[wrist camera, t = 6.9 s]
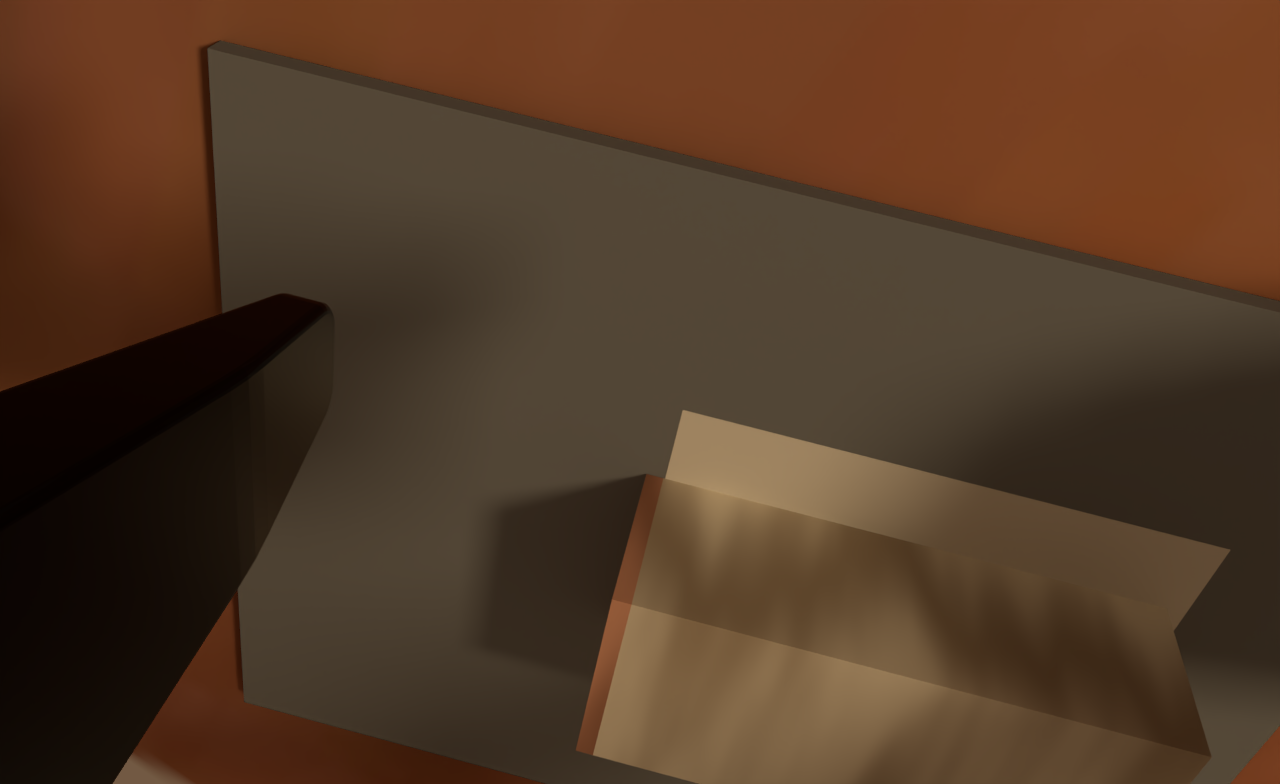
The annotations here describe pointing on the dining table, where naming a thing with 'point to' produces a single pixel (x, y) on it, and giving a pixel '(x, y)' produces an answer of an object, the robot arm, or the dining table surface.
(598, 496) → the flip mat
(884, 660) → the birch pillar
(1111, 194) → the dining table surface
